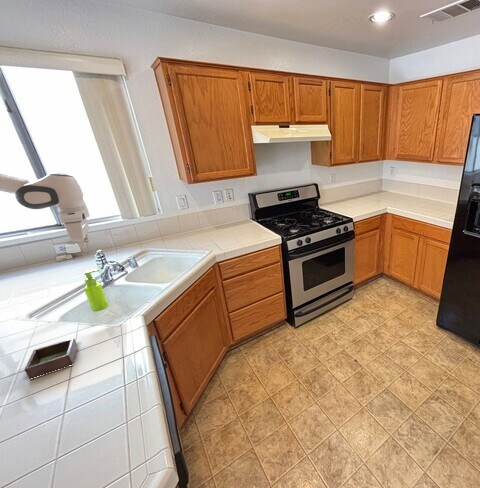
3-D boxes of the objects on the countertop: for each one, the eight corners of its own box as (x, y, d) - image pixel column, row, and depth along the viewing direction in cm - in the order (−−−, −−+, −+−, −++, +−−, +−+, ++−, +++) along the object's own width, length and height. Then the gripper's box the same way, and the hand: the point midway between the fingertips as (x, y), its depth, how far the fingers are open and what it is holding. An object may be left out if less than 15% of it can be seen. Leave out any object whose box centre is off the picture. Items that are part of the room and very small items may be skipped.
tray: (30, 380, 85) (24, 369, 83) (38, 360, 93) (33, 349, 91) (73, 365, 90) (68, 355, 89) (78, 347, 99) (74, 337, 97)
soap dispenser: (113, 309, 122) (100, 270, 115) (94, 315, 117) (79, 276, 110) (110, 304, 126) (97, 266, 119) (92, 310, 121) (77, 272, 114)
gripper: (68, 210, 114) (78, 240, 118) (58, 220, 98) (71, 254, 103) (87, 208, 117) (96, 237, 122) (81, 217, 101) (92, 250, 106)
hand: (84, 245), depth 112 cm, fingers open, 8 cm apart
